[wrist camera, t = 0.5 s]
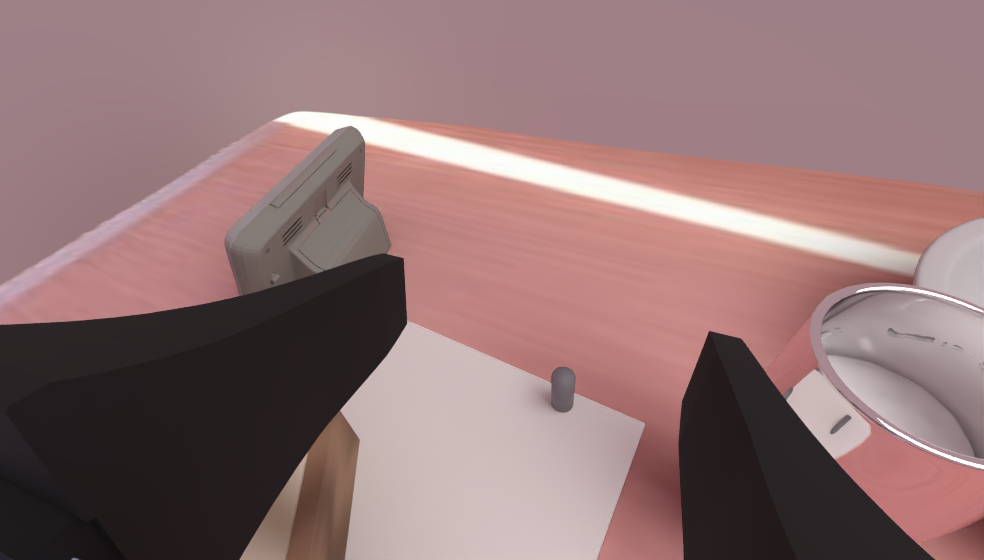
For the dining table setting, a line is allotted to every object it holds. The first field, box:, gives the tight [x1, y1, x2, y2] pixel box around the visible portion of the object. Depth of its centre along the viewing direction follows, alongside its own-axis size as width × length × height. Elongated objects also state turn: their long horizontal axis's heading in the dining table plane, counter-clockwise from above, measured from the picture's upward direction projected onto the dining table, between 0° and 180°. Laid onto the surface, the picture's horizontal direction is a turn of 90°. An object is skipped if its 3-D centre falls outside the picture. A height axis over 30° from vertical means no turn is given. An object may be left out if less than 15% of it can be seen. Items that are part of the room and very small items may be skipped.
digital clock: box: [225, 126, 391, 296], centre depth 37 cm, size 16×9×11 cm, turn 152°
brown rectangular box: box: [240, 411, 360, 560], centre depth 22 cm, size 11×5×5 cm, turn 5°
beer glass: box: [766, 282, 984, 544], centre depth 19 cm, size 7×7×15 cm
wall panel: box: [340, 320, 646, 560], centre depth 24 cm, size 22×20×4 cm
